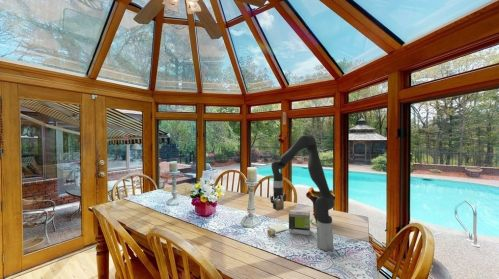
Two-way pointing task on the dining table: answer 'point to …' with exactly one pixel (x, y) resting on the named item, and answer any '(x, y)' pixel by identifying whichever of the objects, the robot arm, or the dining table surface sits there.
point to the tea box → (299, 222)
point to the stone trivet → (278, 227)
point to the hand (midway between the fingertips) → (278, 207)
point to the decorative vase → (313, 196)
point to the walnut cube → (279, 205)
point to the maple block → (271, 232)
